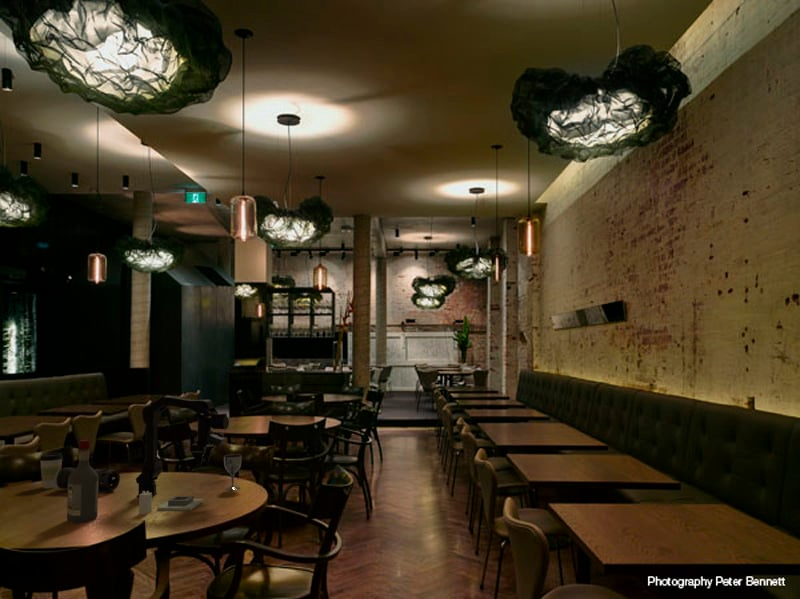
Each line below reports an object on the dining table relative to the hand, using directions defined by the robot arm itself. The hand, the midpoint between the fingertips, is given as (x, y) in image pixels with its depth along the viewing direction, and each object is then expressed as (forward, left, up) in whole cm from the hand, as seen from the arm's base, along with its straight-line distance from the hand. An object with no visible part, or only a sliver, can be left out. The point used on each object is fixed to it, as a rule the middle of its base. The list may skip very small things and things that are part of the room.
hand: (203, 464), depth 270 cm
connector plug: (-14, -24, -14) cm, 31 cm away
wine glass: (+8, +17, -14) cm, 23 cm away
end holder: (-4, -13, -14) cm, 20 cm away
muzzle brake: (-58, +11, -15) cm, 61 cm away
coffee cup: (-80, +19, -14) cm, 84 cm away
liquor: (-34, -34, -14) cm, 50 cm away
